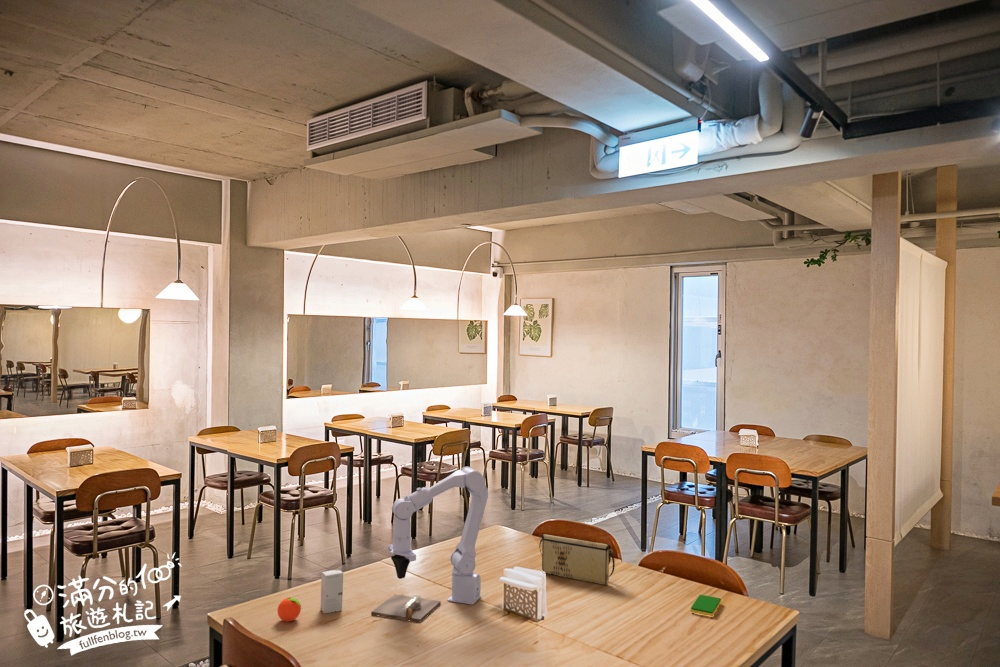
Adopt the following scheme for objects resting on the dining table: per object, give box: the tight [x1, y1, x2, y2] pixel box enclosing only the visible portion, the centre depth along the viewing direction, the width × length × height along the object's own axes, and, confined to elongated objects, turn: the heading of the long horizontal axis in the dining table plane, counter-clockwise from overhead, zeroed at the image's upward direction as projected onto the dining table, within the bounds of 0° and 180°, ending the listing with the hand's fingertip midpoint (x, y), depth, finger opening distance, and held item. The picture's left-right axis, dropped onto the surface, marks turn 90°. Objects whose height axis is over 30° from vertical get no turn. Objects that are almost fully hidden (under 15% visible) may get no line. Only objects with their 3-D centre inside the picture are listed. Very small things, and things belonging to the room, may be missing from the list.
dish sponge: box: [690, 594, 722, 616], centre depth 222 cm, size 7×14×2 cm, turn 151°
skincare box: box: [319, 569, 344, 614], centre depth 215 cm, size 6×4×12 cm
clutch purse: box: [539, 533, 616, 586], centre depth 250 cm, size 30×7×15 cm, turn 62°
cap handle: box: [401, 595, 422, 617], centre depth 213 cm, size 12×4×2 cm, turn 166°
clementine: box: [277, 596, 303, 622], centre depth 206 cm, size 8×7×7 cm
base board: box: [370, 594, 441, 623], centre depth 217 cm, size 17×16×3 cm
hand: (401, 577), depth 219 cm, fingers closed
